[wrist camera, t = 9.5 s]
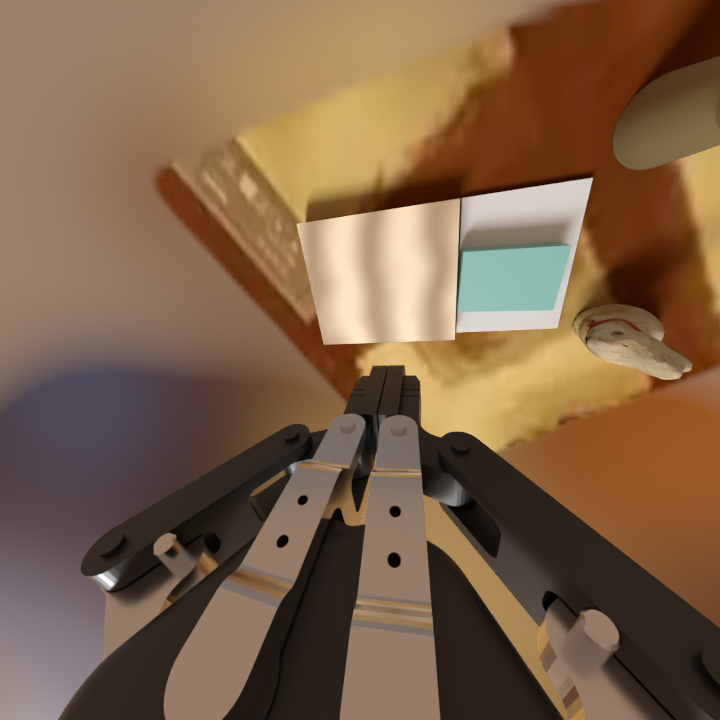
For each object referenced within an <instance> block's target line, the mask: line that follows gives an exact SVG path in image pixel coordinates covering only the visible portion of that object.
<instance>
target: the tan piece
mask: <svg viewBox="0 0 720 720" xmlns="http://www.w3.org/2000/svg"><path fill="white" fill-rule="evenodd" d="M572 327H573V330H574V332H575V333H576V334H577V335H579V337H580V339H581V341H582V342H583V343H584V344H585V346H586V347H587V348H588V349H589V350H590V352H591V353H593V354H594V355H596V356H597V357H599V358H600V359H602V360H604V361H606V362H609V363H614V364H619V365H625V366H629V367H633V368H635V369H637V370H640V371H642V372H644V373H647V374H649V375H652V376H655V377H658V378H661V379H679V378H680V377H681V375H682V373H683V372H686V371H690V370H691V369H692V363H691V362H690V361H689V360H688V359H686V358H685V357H684V356H683V355H681V354H680V353H678V352H676V351H675V350H673V349H672V348H670V347H669V346H667V345H666V344H664V343H663V342H661V340H662V338H663V336H664V333H665V332H664V328H663V326H662V324H661V323H660V321H659V320H658V319H657V318H656V317H655V316H654V315H652V314H651V313H649V312H648V311H646V310H644V309H641V308H638V307H633V306H629V305H620V304H606V305H603V306H599V307H594V308H590V309H588V310H585V311H583V312H581V313H580V314H578V316H577V317H576V318H575V320H574V322H573V325H572Z"/></svg>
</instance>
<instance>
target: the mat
mask: <svg viewBox="0 0 720 720" xmlns="http://www.w3.org/2000/svg"><path fill="white" fill-rule="evenodd" d="M592 180H593V178H587V179H581V180H574V181H568V182H562V183H555V184H549V185H542V186H536V187H529V188H523V189H517V190H510V191H504V192H497V193H491V194H485V195H478V196H472V197H465V198H461V220H460V245H459V258H460V248H472V247H487V246H503V245H518V244H533V243H549V242H562V243H565V244H569V245H572V246H571V249H570V253H569V256H568V260H567V264H566V267H565V271H564V274H563V278H562V282H561V285H560V289H559V292H558V296H557V299H556V303H555V307H554V310H547V311H486V312H458V311H457V319H456V332H478V331H502V330H525V329H549V328H557V327H558V323H559V319H560V315H561V310H562V306H563V302H564V298H565V294H566V289H567V285H568V281H569V277H570V273H571V268H572V264H573V260H574V256H575V251H576V247H577V243H578V239H579V235H580V230H581V226H582V222H583V218H584V213H585V209H586V205H587V201H588V197H589V192H590V188H591V184H592Z"/></svg>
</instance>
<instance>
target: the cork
mask: <svg viewBox="0 0 720 720" xmlns="http://www.w3.org/2000/svg"><path fill="white" fill-rule="evenodd" d="M718 145H720V56H717V57H714V58H711V59H708V60H705V61H702V62H699V63H696V64H693V65H690V66H687V67H684V68H681V69H677V70H674V71H671V72H668V73H666V74H664V75H663V76H661V77H659V78H657V79H655V80H653V81H651V82H650V83H649V84H648V85H647V86H645V87H644V88H643V89H642V90H641V91H640V92H638V93H637V94H636V95H635V97H634V98H633V99H632V100H631V102H630V103H629V104H628V105H627V107H626V108H625V109H624V111H623V113H622V115H621V117H620V119H619V121H618V123H617V125H616V128H615V133H614V137H613V150H614V154H615V156H616V158H617V160H618V161H619V163H621V164H622V165H624V166H625V167H627V168H629V169H635V170H644V169H650V168H655V167H657V166H660V165H663V164H666V163H669V162H672V161H675V160H678V159H680V158H683V157H686V156H689V155H692V154H695V153H698V152H701V151H704V150H706V149H709V148H712V147H715V146H718Z"/></svg>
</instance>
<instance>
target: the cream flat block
mask: <svg viewBox="0 0 720 720" xmlns="http://www.w3.org/2000/svg"><path fill="white" fill-rule="evenodd" d="M459 214H460V198H459V199H452V200H446V201H440V202H433V203H427V204H420V205H414V206H408V207H401V208H395V209H388V210H382V211H375V212H369V213H363V214H356V215H350V216H343V217H337V218H331V219H324V220H318V221H311V222H305V223H299V224H297V227H298V232H299V236H300V241H301V245H302V250H303V254H304V259H305V263H306V267H307V272H308V276H309V281H310V285H311V290H312V294H313V299H314V303H315V307H316V312H317V316H318V321H319V325H320V330H321V334H322V339H323V343H324V344H351V343H379V342H406V341H434V340H455V319H456V293H457V266H458V240H459Z"/></svg>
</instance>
